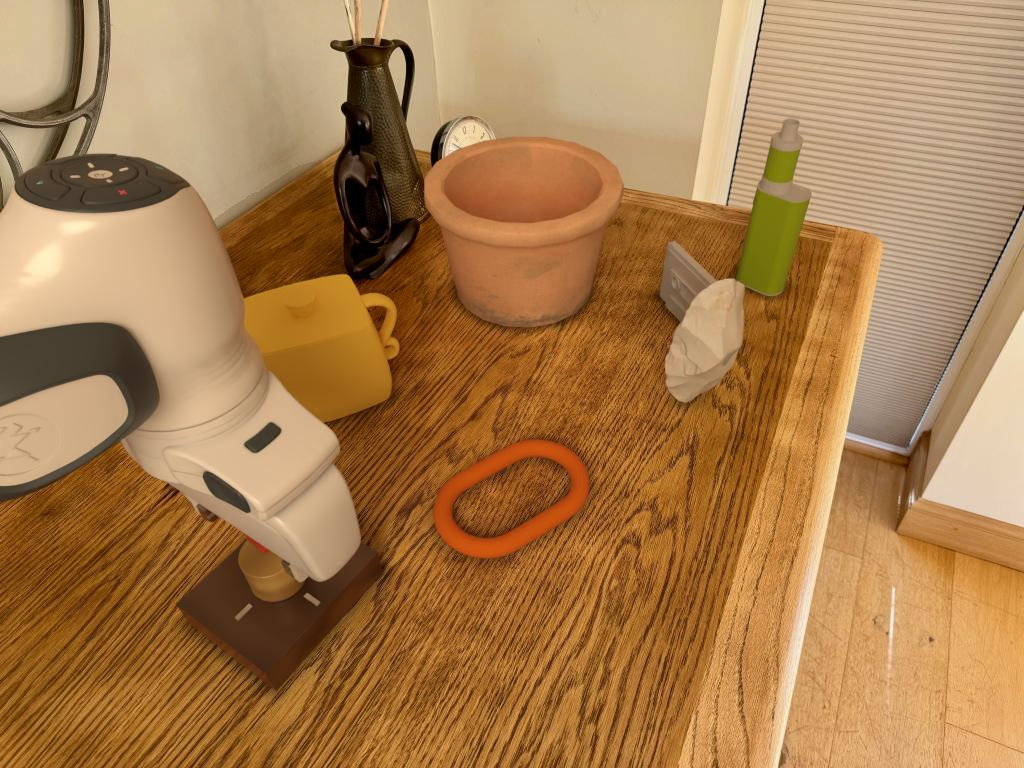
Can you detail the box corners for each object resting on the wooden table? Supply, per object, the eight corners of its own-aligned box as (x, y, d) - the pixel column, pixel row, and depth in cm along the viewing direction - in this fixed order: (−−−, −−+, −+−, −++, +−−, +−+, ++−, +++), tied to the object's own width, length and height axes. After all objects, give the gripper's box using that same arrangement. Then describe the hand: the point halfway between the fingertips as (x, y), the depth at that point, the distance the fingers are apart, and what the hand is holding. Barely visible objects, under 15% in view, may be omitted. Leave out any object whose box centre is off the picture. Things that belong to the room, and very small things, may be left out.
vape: (745, 266, 91) (782, 110, 77) (789, 285, 88) (836, 126, 74) (729, 279, 89) (765, 122, 75) (774, 299, 86) (819, 138, 72)
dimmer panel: (276, 692, 53) (265, 672, 51) (188, 623, 58) (174, 602, 55) (383, 572, 60) (377, 550, 58) (298, 518, 65) (290, 496, 62)
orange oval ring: (411, 493, 64) (546, 420, 70) (414, 505, 65) (546, 432, 71) (471, 571, 58) (612, 485, 64) (472, 582, 60) (611, 496, 66)
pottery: (448, 235, 98) (439, 133, 88) (612, 240, 96) (621, 137, 86) (420, 339, 82) (405, 229, 72) (615, 347, 81) (626, 235, 71)
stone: (679, 429, 72) (703, 308, 61) (652, 394, 75) (671, 274, 65) (747, 407, 73) (782, 286, 63) (717, 374, 77) (746, 255, 67)
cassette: (655, 296, 87) (663, 241, 82) (668, 293, 88) (677, 238, 82) (710, 357, 79) (723, 301, 74) (725, 353, 79) (739, 296, 74)
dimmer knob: (319, 571, 57) (309, 544, 55) (275, 612, 55) (262, 586, 52) (282, 543, 59) (271, 515, 57) (238, 582, 57) (224, 555, 54)
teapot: (225, 457, 70) (185, 367, 62) (210, 377, 78) (173, 289, 70) (422, 396, 75) (409, 306, 67) (388, 328, 84) (373, 241, 76)
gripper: (54, 378, 47) (132, 507, 56) (279, 520, 39) (326, 644, 48) (138, 326, 51) (197, 456, 60) (359, 446, 42) (387, 574, 52)
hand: (256, 540), depth 54 cm, fingers open, 8 cm apart
